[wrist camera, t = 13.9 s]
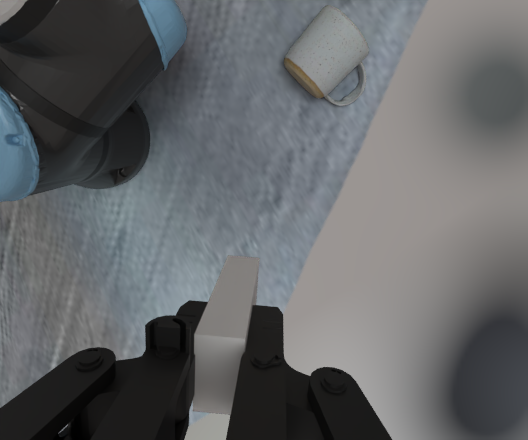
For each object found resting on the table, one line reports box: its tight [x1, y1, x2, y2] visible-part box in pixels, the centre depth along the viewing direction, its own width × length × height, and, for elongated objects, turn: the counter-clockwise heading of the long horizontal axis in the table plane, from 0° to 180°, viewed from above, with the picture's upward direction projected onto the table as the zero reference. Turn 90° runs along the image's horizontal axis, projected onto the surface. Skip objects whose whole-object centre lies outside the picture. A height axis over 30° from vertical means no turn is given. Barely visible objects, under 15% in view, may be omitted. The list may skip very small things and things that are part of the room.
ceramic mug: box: [284, 5, 369, 106], centre depth 42 cm, size 11×8×8 cm
